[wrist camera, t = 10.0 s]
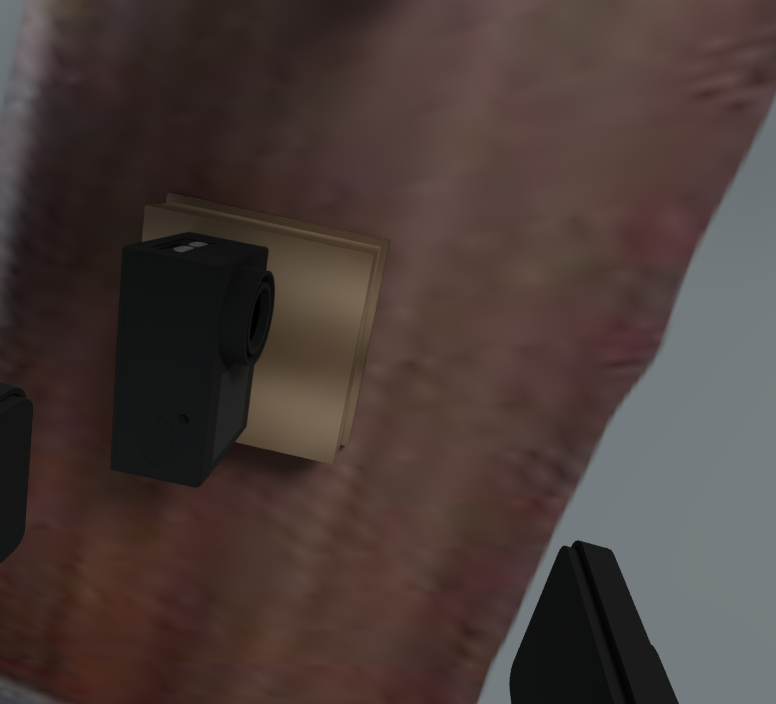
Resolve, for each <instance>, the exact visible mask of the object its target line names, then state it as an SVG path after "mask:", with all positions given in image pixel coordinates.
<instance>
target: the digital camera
mask: <svg viewBox="0 0 776 704" xmlns="http://www.w3.org/2000/svg"><path fill="white" fill-rule="evenodd" d="M268 252H269V250H268V248H267V247H265V246H264V247H263V246H258V245H253V244H248V243H243V242H238V241H233V240H228V239H223V238H218V237H213V236H208V235H203V234H198V233H193V232H185V233H181V234H176V235H171V236H167V237H162V238H158V239H153V240H149V241H144V242H139V243H135V244H131V245H128V246H125V247H123V253H122V269H121V285H120V301H119V319H118V336H117V354H116V372H115V390H114V410H113V430H112V450H111V469H112V470H115V471H120V472H125V473H130V474H135V475H139V476H144V477H149V478H153V479H158V480H163V481H167V482H172V483H177V484H181V485H186V486H191V487H199V486H201V485H202V483H203V482H204V481H205V480H206V478H207V477H208V476H209V475H210V473H211V472H212V471H213V470H214V468H215V467H216V466H217V464H218V463H219V462H220V461H221V459H222V458H223V457H224V455H225V454H226V453H227V451H228V450H229V449H230V448H231V446H232V445H233V444H234V442H235V441H236V440H237V439H238V437H239V436H240V435H241V433H242V432H243V431H244V430H245V428H246V427H247V419H248V412H249V404H250V396H251V388H252V380H253V372H254V365H255V364H256V362H257V361H258V359H259V358H260V356H261V354H262V352H263V349H264V347H265V344H266V341H267V337H268V334H269V330H270V326H271V322H272V316H273V310H274V301H275V282H274V276H273V274H272V272H271V271H268V270H266V269H267V260H268Z"/></svg>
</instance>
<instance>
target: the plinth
mask: <svg viewBox="0 0 776 704" xmlns="http://www.w3.org/2000/svg"><path fill="white" fill-rule="evenodd" d="M185 232H193V233H198V234H203V235H208V236H213V237H218V238H223V239H228V240H233V241H238V242H243V243H248V244H253V245H258V246H263V247H264V246H265V247H267V248H268V250H269V252H268V260H267V269H266V270H268V271H271V272H272V274H273V276H274V282H275V301H274V310H273V316H272V322H271V326H270V330H269V334H268V337H267V341H266V344H265V347H264V349H263V352H262V354H261V356H260V358H259V359H258V361H257V362H256V364H255V365H254V372H253V380H252V388H251V396H250V404H249V412H248V419H247V427H246V428H245V430H244V431H243V432H242V433H241V435H240V436H239V437H238V439H237V440H236V441H235V442H237V443H241V444H246V445H250V446H254V447H259V448H263V449H267V450H272V451H276V452H281V453H285V454H289V455H294V456H298V457H302V458H307V459H311V460H316V461H320V462H324V463H329V464H333V463H334V460H335V457H336V455H337V452H338V450H339V447H340V445H343V446H347V447H348V444H349V441H350V436H351V431H352V426H353V421H354V416H355V411H356V406H357V402H358V397H359V392H360V387H361V382H362V377H363V372H364V367H365V362H366V357H367V352H368V347H369V342H370V337H371V332H372V327H373V323H374V318H375V313H376V308H377V303H378V298H379V293H380V288H381V283H382V278H383V273H384V268H385V263H386V258H387V253H388V248H389V244H390V240H386V239H382V238H377V237H373V236H368V235H363V234H359V233H354V232H349V231H345V230H340V229H336V228H331V227H326V226H322V225H317V224H313V223H308V222H303V221H299V220H294V219H290V218H285V217H280V216H276V215H271V214H266V213H262V212H257V211H253V210H248V209H243V208H239V207H234V206H230V205H225V204H220V203H216V202H211V201H207V200H202V199H197V198H193V197H188V196H184V195H179V194H174V193H167V198H166V203H158V204H149V205H145V209H144V221H143V233H142V242H144V241H149V240H153V239H158V238H162V237H167V236H171V235H176V234H181V233H185Z"/></svg>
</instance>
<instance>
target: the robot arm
mask: <svg viewBox="0 0 776 704" xmlns="http://www.w3.org/2000/svg"><path fill="white" fill-rule="evenodd" d="M32 417H33V405H32V402H31V401H30V400H29V399H26V395H25V392H24V391H23V390H22V389H21V388H18V387H14V386H10V385H7V384H3V383H0V563H2V562H3V561H4V560H5V559H6V558H7V557H8V556H9V555H10V554H11V553H12V552H13V551H14V550H15V549H16V548H17V547H18V545H19V544H20V542H21V540H22V538H23V535H24V531H25V522H26V507H27V492H28V477H29V462H30V447H31V432H32ZM509 685H510V696H511V704H679V703H678V701H677V698H676V696H675V693H674V691H673V689H672V686H671V684H670V682H669V679H668V677H667V674H666V672H665V670H664V667H663V665H662V663H661V660H660V658H659V655H658V653H657V652H656V650H655V648H654V647H653V646H652V645H651V644H650V641H649V639H648V636H647V634H646V631H645V629H644V627H643V624H642V622H641V619H640V617H639V614H638V612H637V610H636V607H635V605H634V602H633V600H632V597H631V595H630V592H629V590H628V588H627V585H626V583H625V580H624V578H623V575H622V573H621V570H620V568H619V566H618V563H617V561H616V558H615V556H614V554H613V552H612V550H610V549H608V548H604V547H600V546H597V545H593V544H590V543H586V542H582V541H578V540H577V541H575V542H574V543H573V544H572V546H571V547H568V546H562V548H561V549H560V551H559V552H558V555H557V557H556V560H555V562H554V564H553V567H552V569H551V572H550V574H549V577H548V579H547V582H546V584H545V586H544V589H543V591H542V594H541V596H540V599H539V601H538V603H537V606H536V608H535V611H534V613H533V615H532V618H531V620H530V623H529V625H528V628H527V630H526V633H525V635H524V637H523V640H522V642H521V645H520V647H519V650H518V652H517V655H516V657H515V659H514V662H513V665H512V668H511V673H510V683H509Z"/></svg>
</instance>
